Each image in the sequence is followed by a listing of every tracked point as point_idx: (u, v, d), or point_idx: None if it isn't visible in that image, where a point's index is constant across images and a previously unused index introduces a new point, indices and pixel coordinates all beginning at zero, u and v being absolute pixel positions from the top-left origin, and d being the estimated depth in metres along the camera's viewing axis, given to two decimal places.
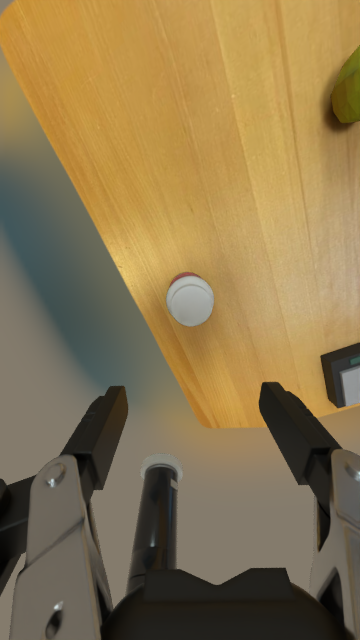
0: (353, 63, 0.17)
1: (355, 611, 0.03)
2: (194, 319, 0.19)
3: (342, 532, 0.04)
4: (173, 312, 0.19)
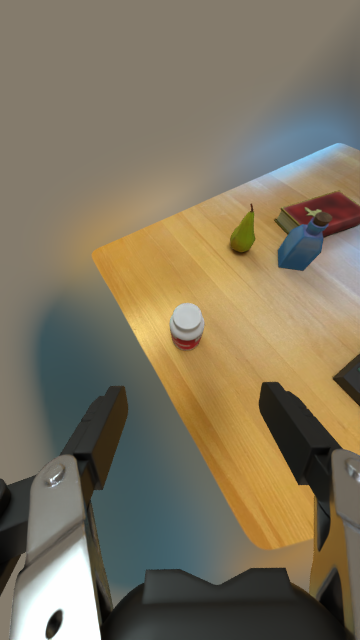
0: (232, 236, 0.44)
1: (355, 611, 0.03)
2: (191, 323, 0.26)
3: (342, 532, 0.04)
4: (175, 320, 0.26)
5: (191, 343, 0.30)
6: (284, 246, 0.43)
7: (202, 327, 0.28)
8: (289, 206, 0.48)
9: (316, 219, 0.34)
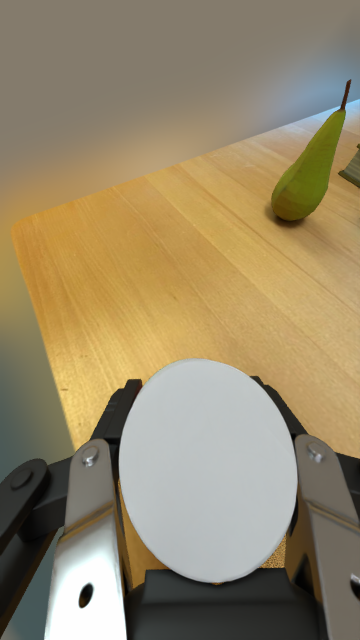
0: (280, 187, 0.22)
1: (325, 596, 0.03)
2: (236, 519, 0.04)
3: (309, 517, 0.04)
4: (131, 495, 0.04)
5: None
6: None
7: None
8: None
9: None
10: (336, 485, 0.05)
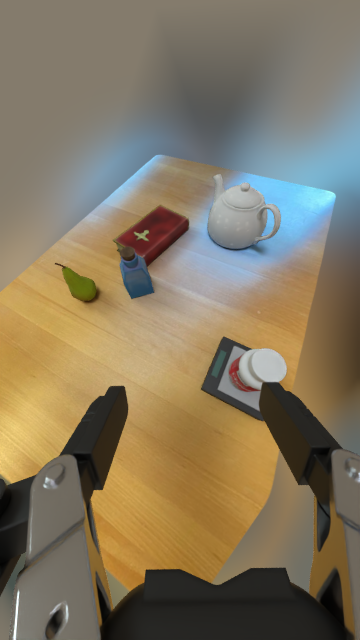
0: (70, 291, 0.41)
1: (355, 611, 0.03)
2: (275, 375, 0.22)
3: (342, 532, 0.04)
4: (256, 371, 0.22)
5: None
6: None
7: None
8: (120, 236, 0.49)
9: (122, 256, 0.35)
10: None
